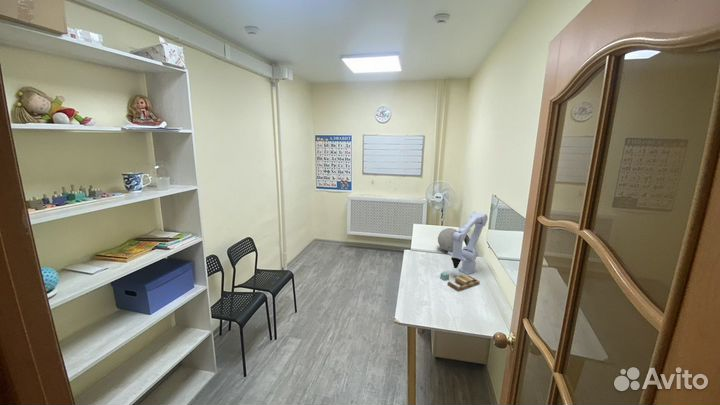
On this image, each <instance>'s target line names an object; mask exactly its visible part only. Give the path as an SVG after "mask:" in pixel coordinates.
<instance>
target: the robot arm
mask: <svg viewBox="0 0 720 405" xmlns="http://www.w3.org/2000/svg"><path fill="white" fill-rule="evenodd" d="M488 217H489V216H488V214H487V213H482V212H477V211H472V212H471V213H470V218H469V220H468V221H467V222H466V223H465V224H462V226H461V227H460V228H459V229H458V230H457V232H454V233H453V236H452V239H453V242H454V243H453V252H448V251H447V255H448V256H451V258H450V259H451V261H452V264H453V268H454V269H458V267H459V264H460V263H461V268H459V269H458V271H459V272H462V273H463V274H464V275H471V274H473V273H476V272H477V270H476V264H477V262H476V260H477V254H478V250H476V246H477V243H478V241H479V238H480V236H481V233H482V231H483V229H484V227H485V226H486V224H487V221H488V219H489V218H488ZM473 226H474V229H473V231H472V232H471V233H472V234H471V236H470V239H469V241H468V244H467V245H466V246H463V242H465V240H466V236H467V235H468V233H469V232H470V231H471V228H472V227H473Z"/></svg>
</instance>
